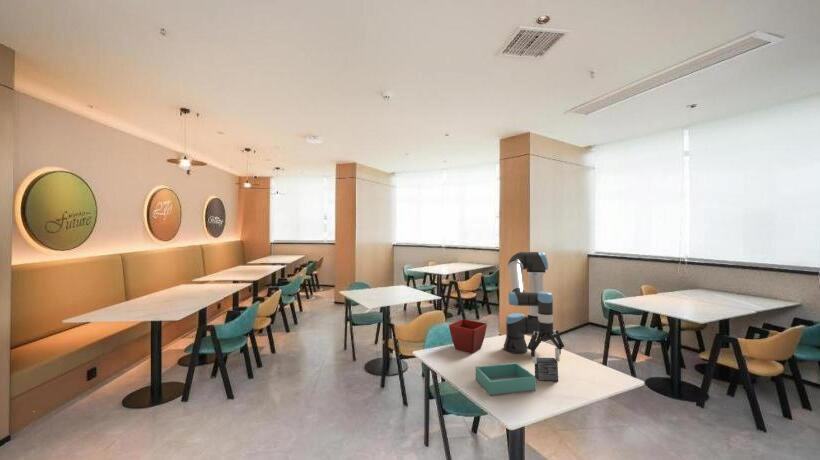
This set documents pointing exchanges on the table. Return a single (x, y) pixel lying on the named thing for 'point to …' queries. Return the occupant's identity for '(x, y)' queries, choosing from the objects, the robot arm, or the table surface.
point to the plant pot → (467, 335)
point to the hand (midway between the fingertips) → (546, 361)
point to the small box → (546, 369)
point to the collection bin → (505, 379)
